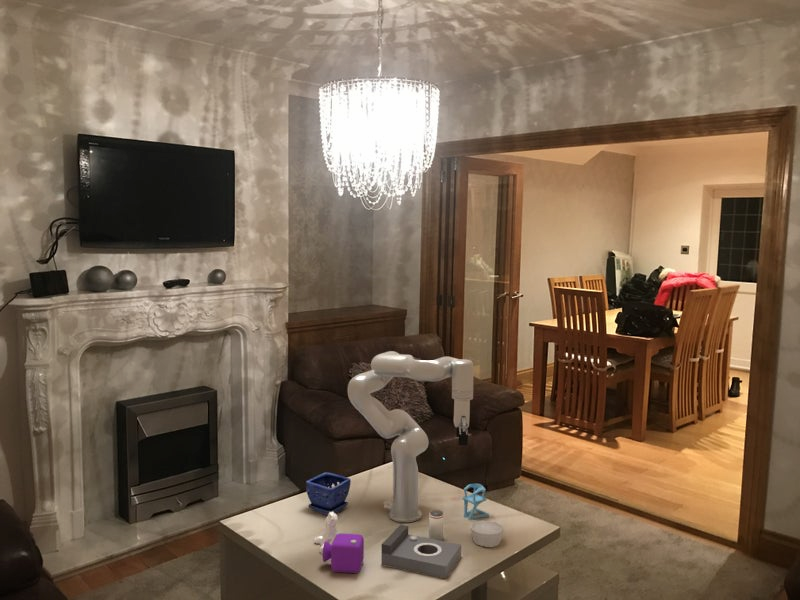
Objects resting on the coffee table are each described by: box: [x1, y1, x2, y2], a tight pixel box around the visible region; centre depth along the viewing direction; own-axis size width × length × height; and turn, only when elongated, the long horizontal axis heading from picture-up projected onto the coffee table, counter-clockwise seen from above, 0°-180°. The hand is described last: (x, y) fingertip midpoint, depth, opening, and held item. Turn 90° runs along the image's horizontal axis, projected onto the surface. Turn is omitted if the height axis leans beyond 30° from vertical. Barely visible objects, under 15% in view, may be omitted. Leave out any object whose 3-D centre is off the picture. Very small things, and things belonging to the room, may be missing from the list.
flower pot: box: [305, 472, 352, 516], centre depth 254 cm, size 13×13×12 cm
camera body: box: [380, 524, 462, 580], centre depth 214 cm, size 22×16×7 cm
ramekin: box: [470, 520, 504, 548], centre depth 228 cm, size 11×11×5 cm
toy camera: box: [320, 532, 365, 574], centre depth 209 cm, size 11×14×10 cm
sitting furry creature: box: [314, 512, 340, 553], centre depth 223 cm, size 10×9×12 cm
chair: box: [462, 483, 490, 520], centre depth 249 cm, size 8×8×12 cm
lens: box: [428, 509, 445, 541], centre depth 230 cm, size 5×5×9 cm
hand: (461, 440), depth 234 cm, fingers open, 9 cm apart
